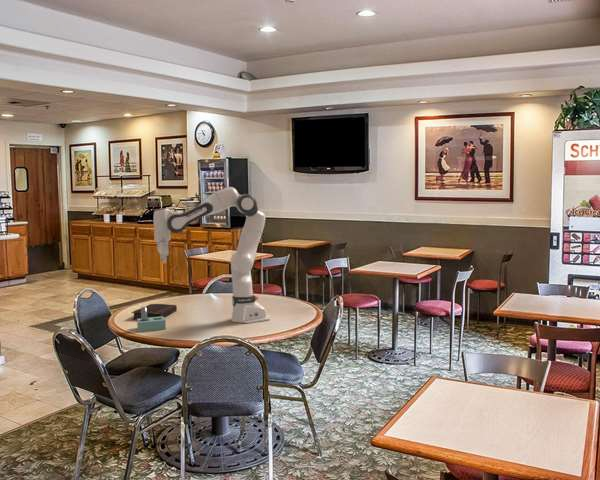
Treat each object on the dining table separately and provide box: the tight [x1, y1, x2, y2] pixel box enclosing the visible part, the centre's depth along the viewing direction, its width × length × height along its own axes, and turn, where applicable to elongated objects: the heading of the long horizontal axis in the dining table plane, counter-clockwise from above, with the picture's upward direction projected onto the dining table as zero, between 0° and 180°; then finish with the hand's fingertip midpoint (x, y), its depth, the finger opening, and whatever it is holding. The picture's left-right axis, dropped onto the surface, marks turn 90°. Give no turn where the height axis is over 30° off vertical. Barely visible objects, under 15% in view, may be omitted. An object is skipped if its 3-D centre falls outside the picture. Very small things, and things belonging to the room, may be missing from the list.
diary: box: [131, 303, 178, 321], centre depth 344 cm, size 19×25×5 cm
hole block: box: [136, 316, 167, 333], centre depth 312 cm, size 14×10×5 cm
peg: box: [140, 306, 147, 321], centre depth 310 cm, size 3×3×12 cm
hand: (163, 262), depth 319 cm, fingers open, 8 cm apart
